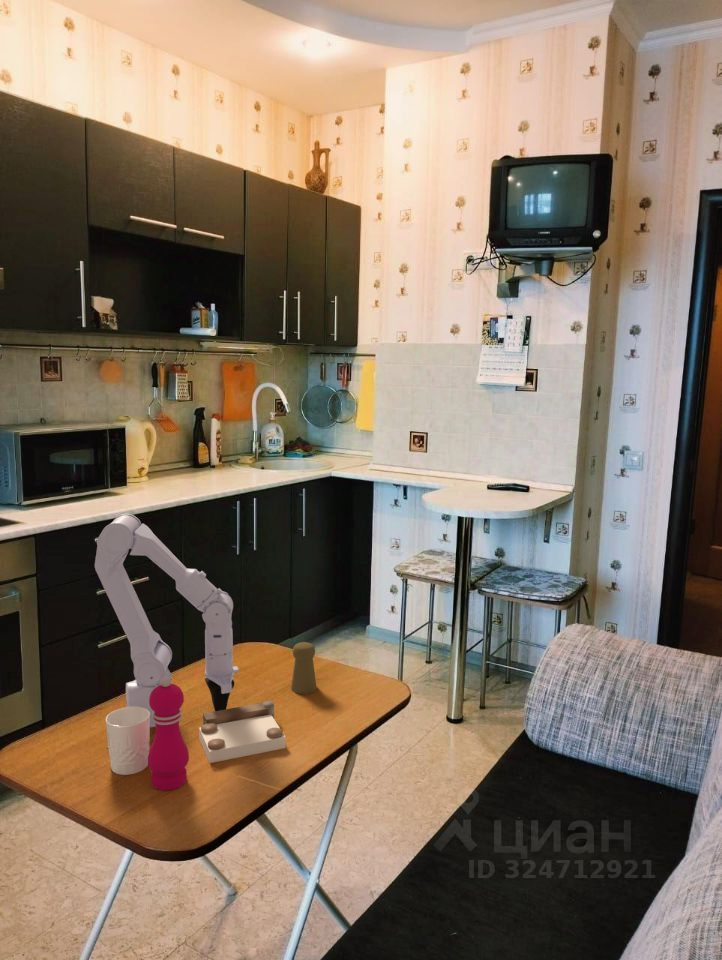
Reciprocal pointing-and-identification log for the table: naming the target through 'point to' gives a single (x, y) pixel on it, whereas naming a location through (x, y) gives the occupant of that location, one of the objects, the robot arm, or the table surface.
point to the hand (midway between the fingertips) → (220, 711)
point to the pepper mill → (167, 738)
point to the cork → (303, 669)
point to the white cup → (128, 739)
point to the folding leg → (239, 713)
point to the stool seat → (241, 738)
